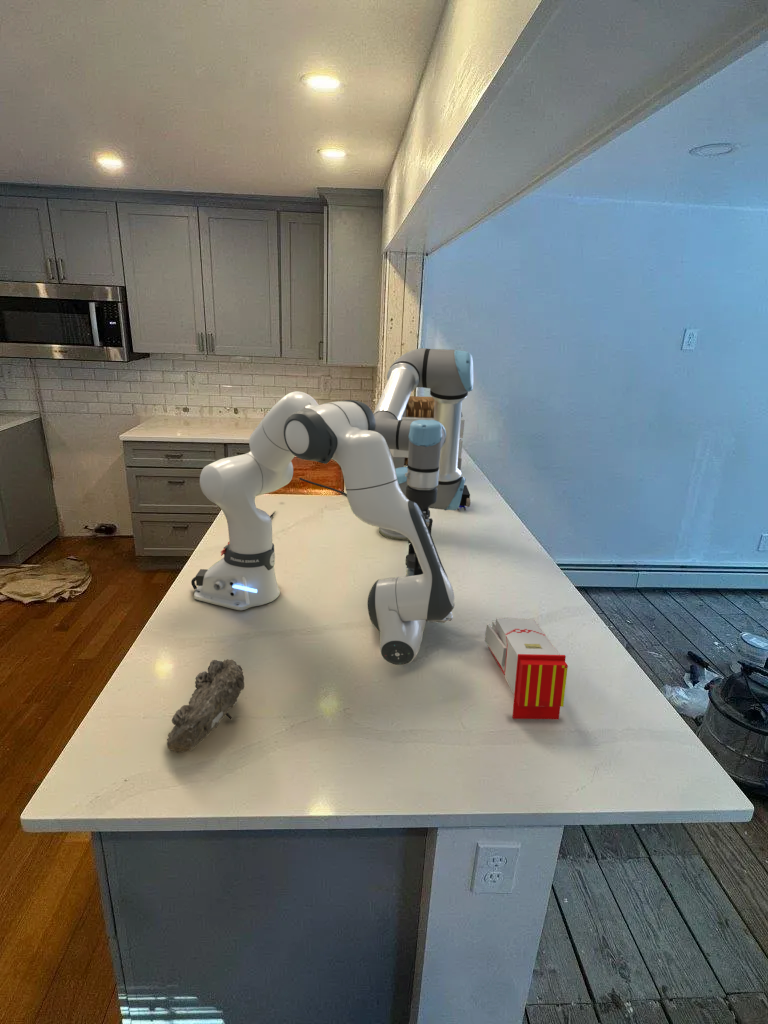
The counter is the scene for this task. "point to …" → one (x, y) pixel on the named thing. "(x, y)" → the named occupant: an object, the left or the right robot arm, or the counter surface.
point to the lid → (410, 560)
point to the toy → (529, 667)
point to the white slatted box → (421, 411)
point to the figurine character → (465, 498)
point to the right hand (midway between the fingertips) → (415, 573)
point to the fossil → (206, 705)
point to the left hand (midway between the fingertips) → (414, 589)
